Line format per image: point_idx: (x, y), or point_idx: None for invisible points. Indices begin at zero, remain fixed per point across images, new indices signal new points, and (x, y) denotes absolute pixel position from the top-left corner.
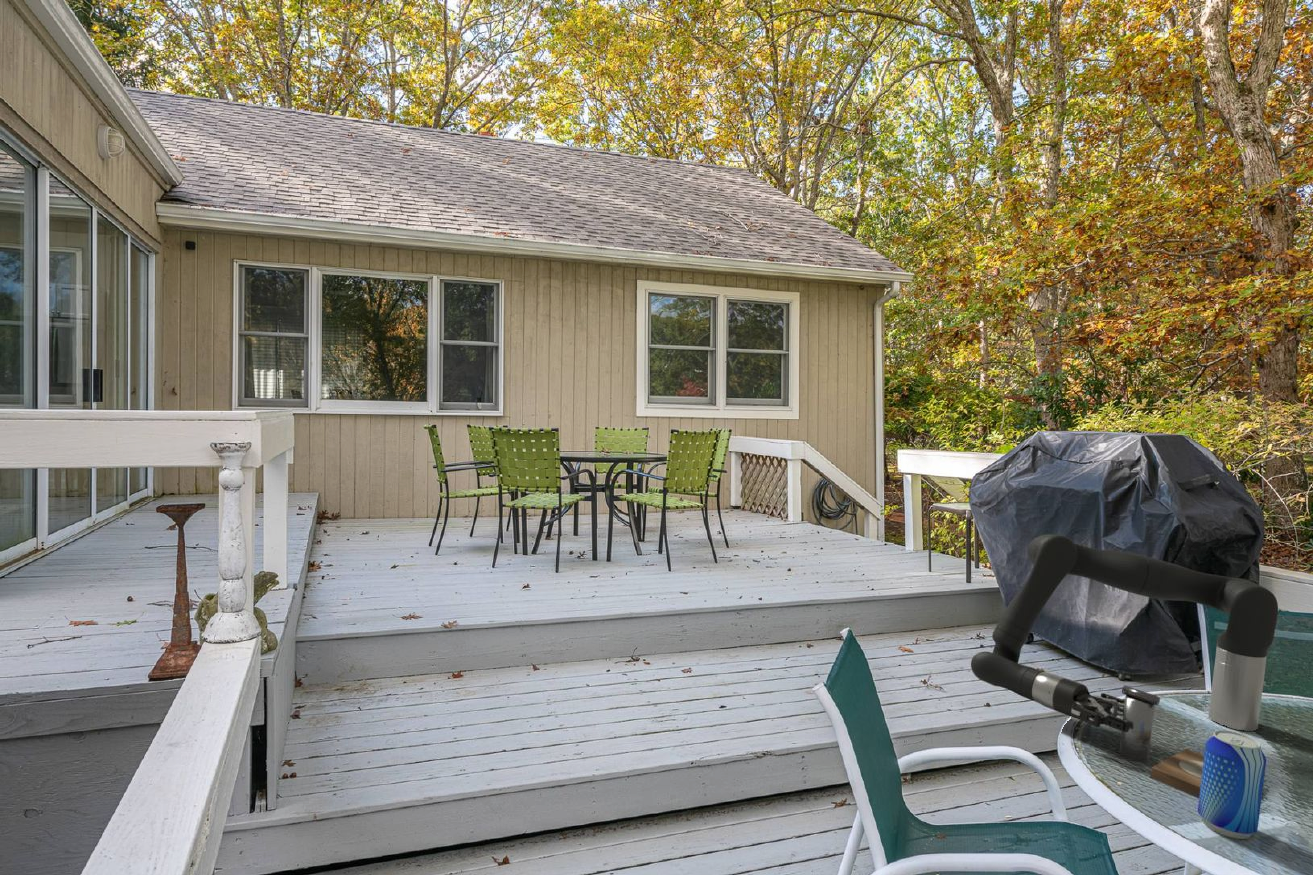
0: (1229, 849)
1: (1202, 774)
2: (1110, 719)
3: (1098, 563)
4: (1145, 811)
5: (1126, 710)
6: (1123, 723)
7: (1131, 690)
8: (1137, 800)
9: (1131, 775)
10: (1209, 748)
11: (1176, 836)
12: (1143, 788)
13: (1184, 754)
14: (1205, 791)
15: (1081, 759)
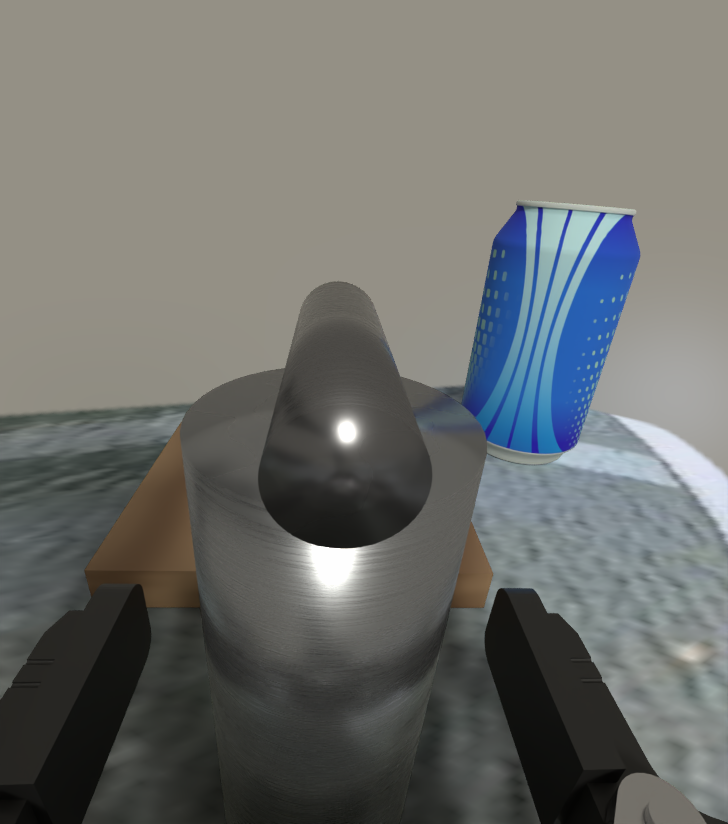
0: (586, 425)
1: (598, 352)
2: (630, 737)
3: None
4: (703, 530)
5: (455, 583)
6: (550, 618)
7: (399, 375)
8: (690, 563)
9: None
10: (639, 255)
11: (685, 469)
12: (597, 585)
13: (182, 554)
14: (598, 379)
15: None
